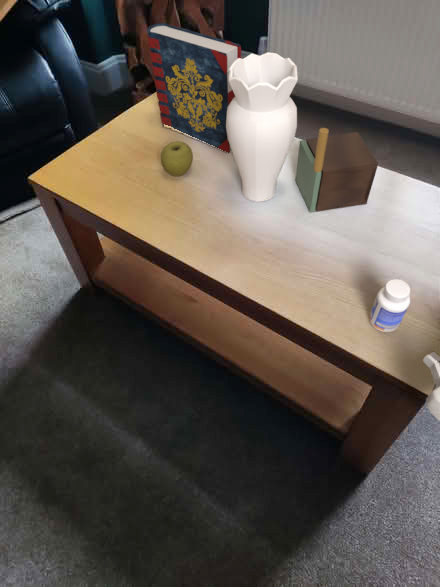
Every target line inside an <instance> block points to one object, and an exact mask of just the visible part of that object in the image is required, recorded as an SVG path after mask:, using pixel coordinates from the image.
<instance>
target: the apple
mask: <svg viewBox="0 0 440 587" xmlns="http://www.w3.org/2000/svg"><path fill="white" fill-rule="evenodd" d="M193 159H194V156H193V151H192V148H191V147H190V146H189V145H188V144H187V143H185V142H182V141H172V142H169V143H167V144H165V146H164V147H163V148H162V150H161V152H160V162H161V166H162V167H163V169H164V171H166V173H168V174H169V175H170V176H173V177H180V176H184V175H185V174H187V173H188V172H189V170H190V169H191V168H192V165H193V161H194V160H193Z"/></svg>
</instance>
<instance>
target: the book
mask: <svg viewBox="0 0 440 587" xmlns="http://www.w3.org/2000/svg"><path fill="white" fill-rule="evenodd" d="M146 32H147V33H146V38H147V44H148V47H149V49H148V50H149V51H148V52H149V57H150V61H151V68H152V73H153V75H154V76H153V80H154V86H155V88H156V89H155V92H156V97H157V100H158V101H157V104H158V110H159V116H160V121H161V123H162V125H163V124H165V125H168V126H171V127H173V128H174V129H177V130H179V131H181V132H183V133H186V134H188V135H190V136H192V137H195V138H197V139H199V140H201V141H204V142H206V143H208V144H210V145H213V146H215V147H217V148H219V149H221V150H223V151H222V152H224V151H226V152H225V153H227V152H228V153H227V154H230V153H231V147H230V144H229V141H228V137H227V130H226V118H227V108H228V106H229V104H230V103H231V101H232V100H233V98H234V97H235V94H234V92H233V90H232V87H231V85H230V83H229V74H228V72H227V71H228V70H229V68H230V67H231V65H232V64H233V62H234V61H236V60H237V59H238V58H241V59H242V47H241V44H240V43H236V42H234V41H233V42H232V41H230V40H227V39H222V38H218V37H215V36H211V35H207V34H204V33H200V32H196V31H193V30H190V29H186V28H183V27H178V26H176V25H172V24H169V23H167V22H161V23H160V22H159V23H154V24H151V25H149V26H148V27H147V28H146ZM210 145H209V146H210ZM215 147H214V148H215ZM217 148H216V149H217ZM219 149H218V150H219ZM221 150H220V151H221ZM229 152H230V153H229Z"/></svg>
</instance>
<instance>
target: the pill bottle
mask: <svg viewBox="0 0 440 587" xmlns="http://www.w3.org/2000/svg"><path fill="white" fill-rule="evenodd" d="M410 294H411V287H410V285H409V284H408V283H407V282H406V281H404V280H402V279H397V278H394V279H390V280H388V281H387V282H386V284H385V285H384V286H383V287H381V289H380V290H378V292H377V295H376V297H375V300H374V302H373V304H372V308H371V310H370V312H369V322H370V324H371V326H372V327H373V328H375V329H376V330H377V331H379V332H383V333H391V332H394V331H396V330H397V329H398V328H399V326H400V325H401V324H402V323H401V322H402V321H403V319H404V316H405V314H406V312H407V311H408V309H409V306H410V303H411V298H410Z"/></svg>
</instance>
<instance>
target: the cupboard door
mask: <svg viewBox="0 0 440 587" xmlns="http://www.w3.org/2000/svg"><path fill="white" fill-rule="evenodd" d="M329 130H330V129H328V128H327V127H320V129H318V135H317V138H318V141H317V148H316V154H315V158H314V156H313V155H312V153H311V151H310V149H309V147H308V145H307V143H306V139H301V140H299V143H298V154H297V161H296V171H295V179H294V181H295V183H296V184H297V187H298V189H299V192H300V194H301V195H302V198H303V201H304V202H305V204H306V207H307V208H308V211H309V213H314V212H316V210H315V208H316V202H317V196H318V191H319V185H320V179H321V173H322V172H321V171H322V167H323V161H324V155H325V150H326V144H327V138H328V136H329Z"/></svg>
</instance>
